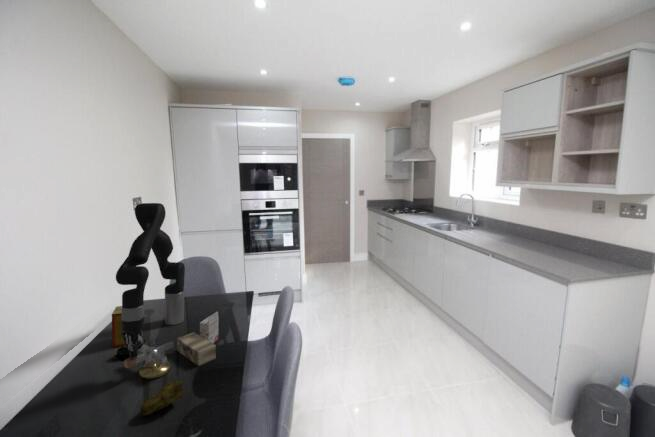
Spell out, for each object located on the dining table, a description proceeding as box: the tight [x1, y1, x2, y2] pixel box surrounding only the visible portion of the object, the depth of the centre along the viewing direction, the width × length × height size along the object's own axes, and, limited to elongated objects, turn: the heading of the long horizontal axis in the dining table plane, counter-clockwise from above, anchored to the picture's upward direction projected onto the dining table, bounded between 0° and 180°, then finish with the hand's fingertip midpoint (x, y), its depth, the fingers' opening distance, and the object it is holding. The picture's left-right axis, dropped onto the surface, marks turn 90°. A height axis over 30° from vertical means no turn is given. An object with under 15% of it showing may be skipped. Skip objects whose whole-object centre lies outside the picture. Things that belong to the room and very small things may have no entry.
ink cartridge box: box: [199, 310, 219, 344], centre depth 146 cm, size 9×5×15 cm, turn 168°
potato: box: [139, 380, 185, 416], centre depth 103 cm, size 8×13×8 cm, turn 115°
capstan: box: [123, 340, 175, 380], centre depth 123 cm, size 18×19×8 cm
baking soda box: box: [111, 305, 126, 348], centre depth 143 cm, size 10×6×16 cm
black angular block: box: [109, 345, 129, 363], centre depth 131 cm, size 12×7×5 cm, turn 80°
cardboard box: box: [176, 331, 217, 367], centre depth 135 cm, size 18×9×6 cm, turn 53°
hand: (133, 358), depth 119 cm, fingers closed
